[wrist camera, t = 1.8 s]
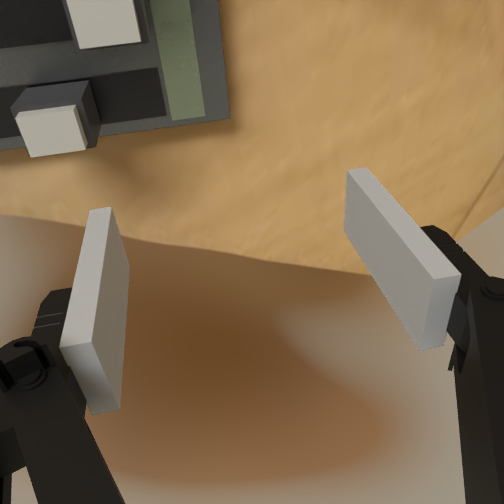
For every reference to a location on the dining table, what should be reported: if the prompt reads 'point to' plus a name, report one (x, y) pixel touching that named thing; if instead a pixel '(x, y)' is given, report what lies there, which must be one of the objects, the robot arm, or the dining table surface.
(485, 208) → the dining table surface
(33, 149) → the block
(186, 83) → the panel
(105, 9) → the breaker mid row
